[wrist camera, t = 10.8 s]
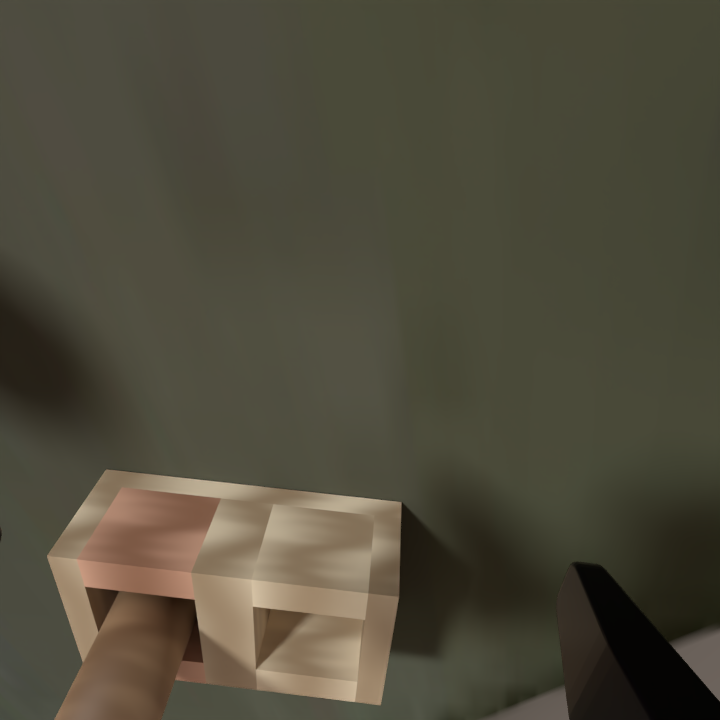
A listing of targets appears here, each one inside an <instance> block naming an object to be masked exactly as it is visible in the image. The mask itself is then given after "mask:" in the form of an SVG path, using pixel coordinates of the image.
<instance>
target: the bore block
mask: <svg viewBox="0 0 720 720" xmlns="http://www.w3.org/2000/svg"><path fill="white" fill-rule="evenodd" d="M400 540H401V502H395V501H386V500H377V499H368V498H359V497H350V496H341V495H332V494H323V493H314V492H305V491H296V490H287V489H278V488H269V487H260V486H251V485H242V484H233V483H224V482H215V481H207V480H198V479H189V478H180V477H171V476H162V475H153V474H144V473H135V472H126V471H117V470H108V469H106V471H105V472H104V474H103V475H102V476H101V478H100V479H99V481H98V482H97V484H96V485H95V487H94V488H93V490H92V491H91V493H90V494H89V495H88V497H87V498H86V500H85V501H84V503H83V504H82V506H81V507H80V509H79V510H78V511H77V513H76V514H75V516H74V517H73V519H72V520H71V522H70V523H69V525H68V526H67V527H66V529H65V530H64V532H63V533H62V535H61V536H60V538H59V539H58V541H57V542H56V544H55V545H54V546H53V548H52V549H51V551H50V552H49V554H48V555H47V557H48V560H49V563H50V566H51V569H52V572H53V575H54V578H55V581H56V584H57V587H58V590H59V593H60V596H61V599H62V602H63V605H64V608H65V610H66V613H67V616H68V619H69V622H70V625H71V628H72V631H73V634H74V637H75V640H76V643H77V646H78V649H79V652H80V655H81V658H82V661H83V662H84V660H85V658H86V656H87V654H88V652H89V650H90V648H91V646H92V644H93V642H94V640H95V638H96V636H97V634H98V632H99V630H100V628H101V626H102V624H103V623H104V621H105V619H106V617H107V615H108V613H109V611H110V609H111V607H112V605H113V603H114V601H115V599H116V597H117V595H118V593H119V591H126V592H134V593H142V594H151V595H159V596H168V597H176V598H185V599H193V600H195V605H196V612H197V618H196V621H195V624H194V627H193V630H192V633H191V636H190V638H189V641H188V644H187V647H186V650H185V653H184V656H183V658H182V661H181V664H180V667H179V670H178V673H177V676H176V678H175V680H181V681H190V682H198V683H206V684H214V685H222V686H230V687H238V688H246V689H254V690H262V691H271V692H279V693H287V694H295V695H303V696H311V697H319V698H327V699H335V700H343V701H352V702H360V703H368V704H376V705H381V700H382V694H383V688H384V683H385V677H386V671H387V665H388V659H389V653H390V647H391V641H392V636H393V630H394V624H395V618H396V612H397V606H398V600H399V580H400Z"/></svg>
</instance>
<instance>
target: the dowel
mask: <svg viewBox="0 0 720 720" xmlns="http://www.w3.org/2000/svg"><path fill="white" fill-rule="evenodd" d="M196 618H197V612H196V605H195V600H193V599H185V598H176V597H168V596H159V595H151V594H142V593H134V592H126V591H119V593H118V595H117V597H116V599H115V601H114V603H113V605H112V607H111V609H110V611H109V613H108V615H107V617H106V619H105V621H104V623H103V624H102V626H101V628H100V630H99V632H98V634H97V636H96V638H95V640H94V642H93V644H92V646H91V648H90V650H89V652H88V654H87V656H86V658H85V660H84V662H83V664H82V666H81V668H80V670H79V672H78V674H77V676H76V678H75V680H74V682H73V684H72V686H71V688H70V690H69V692H68V694H67V696H66V698H65V700H64V702H63V704H62V706H61V708H60V710H59V712H58V714H57V716H56V718H55V720H161V719H162V716H163V713H164V710H165V707H166V704H167V701H168V698H169V696H170V693H171V690H172V687H173V684H174V681H175V678H176V676H177V673H178V670H179V667H180V664H181V661H182V658H183V656H184V653H185V650H186V647H187V644H188V641H189V638H190V636H191V633H192V630H193V627H194V624H195V621H196Z"/></svg>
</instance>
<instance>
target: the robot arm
mask: <svg viewBox="0 0 720 720" xmlns="http://www.w3.org/2000/svg"><path fill="white" fill-rule="evenodd" d="M1 536H2V531H1V527H0V541H1ZM556 610H557V620H558V628H559V637H560V646H561V655H562V663H563V672H564V681H565V690H566V698H567V705H568V713H569V719H570V720H720V701H719V700H718V699H717V698H716V697H715V696H714V695H713V693H711V691H710V690H709V689H708V688H707V686H706V685H705V684H704V683H703V682H702V681H701V679H700V678H699V677H698V676H697V675H696V674H695V673H694V672H693V670H692V669H691V668H690V667H689V666H688V664H687V663H686V662H685V661H684V660H683V659H682V657H681V656H680V655H679V654H678V653H677V652H676V651H675V649H674V648H673V647H672V646H671V645H670V644H669V642H668V641H667V640H666V639H665V638H664V637H663V635H662V634H661V633H660V632H659V631H658V630H657V629H656V627H655V626H654V625H653V624H652V623H651V622H650V620H649V619H648V618H647V617H646V616H645V615H644V613H643V612H642V611H641V610H640V609H639V608H638V607H637V605H636V604H635V603H634V602H633V601H632V600H631V598H630V597H629V596H628V595H627V594H626V593H625V591H624V590H623V589H622V588H621V587H620V586H619V585H618V583H617V582H616V581H615V580H614V579H613V578H612V576H611V575H610V574H609V573H608V572H607V571H606V570H605V569H604V568H603V567H602V566H600V565H598V564H594V563H585V562H573V563H572V564H571V565H570V566H569V568H568V571H567V573H566V576H565V578H564V581H563V583H562V585H561V588H560V590H559V593H558V596H557V603H556Z"/></svg>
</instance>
